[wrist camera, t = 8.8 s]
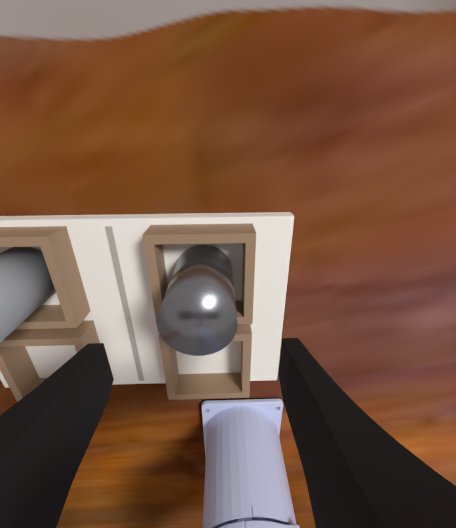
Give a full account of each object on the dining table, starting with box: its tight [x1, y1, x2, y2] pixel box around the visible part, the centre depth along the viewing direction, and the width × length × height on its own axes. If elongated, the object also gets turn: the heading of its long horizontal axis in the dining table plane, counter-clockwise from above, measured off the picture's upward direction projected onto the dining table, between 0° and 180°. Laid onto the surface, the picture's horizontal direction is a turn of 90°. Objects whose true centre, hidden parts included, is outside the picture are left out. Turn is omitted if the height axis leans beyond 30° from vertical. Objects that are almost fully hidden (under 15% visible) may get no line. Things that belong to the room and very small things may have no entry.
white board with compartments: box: [0, 212, 294, 402], centre depth 17 cm, size 15×24×7 cm, turn 90°
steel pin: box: [157, 245, 237, 356], centre depth 16 cm, size 4×4×6 cm
